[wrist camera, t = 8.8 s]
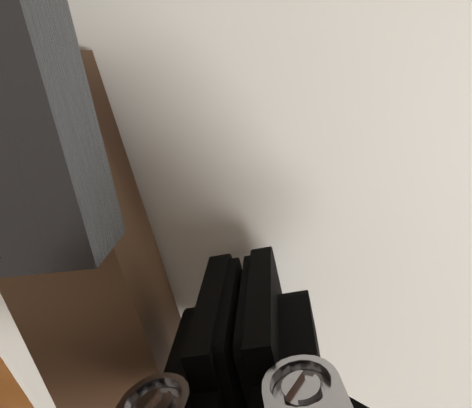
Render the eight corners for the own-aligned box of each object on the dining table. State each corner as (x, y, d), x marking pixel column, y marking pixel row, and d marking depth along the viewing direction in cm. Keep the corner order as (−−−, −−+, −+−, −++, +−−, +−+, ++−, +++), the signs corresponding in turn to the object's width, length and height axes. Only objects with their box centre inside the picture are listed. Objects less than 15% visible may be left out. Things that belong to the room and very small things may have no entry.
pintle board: (152, 532, 19) (143, 572, 17) (-161, 29, 12) (-218, 27, 11) (724, 434, 15) (773, 476, 13) (730, -414, 8) (828, -512, 7)
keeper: (170, 174, 11) (97, 268, 6) (84, 184, 12) (-46, 282, 7) (109, -124, 9) (-70, -313, 4) (5, -102, 9) (-273, -257, 5)
